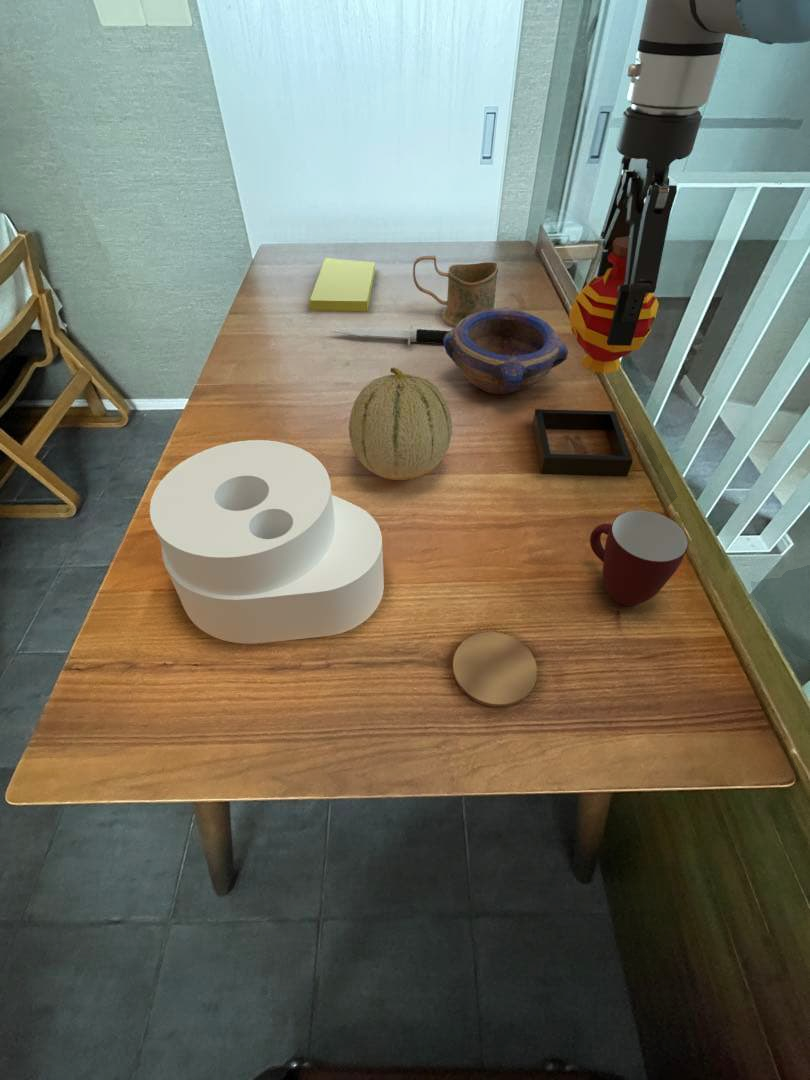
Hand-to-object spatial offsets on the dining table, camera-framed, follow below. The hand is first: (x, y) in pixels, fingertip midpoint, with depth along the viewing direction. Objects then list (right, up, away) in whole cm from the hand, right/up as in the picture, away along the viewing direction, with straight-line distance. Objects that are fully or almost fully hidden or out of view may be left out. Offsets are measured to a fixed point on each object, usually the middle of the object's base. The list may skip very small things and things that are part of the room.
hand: (609, 323), depth 74 cm
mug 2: (0, -33, -3) cm, 33 cm away
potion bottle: (0, -4, +4) cm, 6 cm away
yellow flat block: (-39, +30, +60) cm, 78 cm away
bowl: (-9, +1, +31) cm, 32 cm away
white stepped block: (-41, -32, -2) cm, 52 cm away
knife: (-28, +12, +42) cm, 52 cm away
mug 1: (-15, +19, +49) cm, 55 cm away
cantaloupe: (-26, -17, +14) cm, 34 cm away
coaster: (-16, -41, -11) cm, 46 cm away
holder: (+1, -13, +17) cm, 21 cm away
